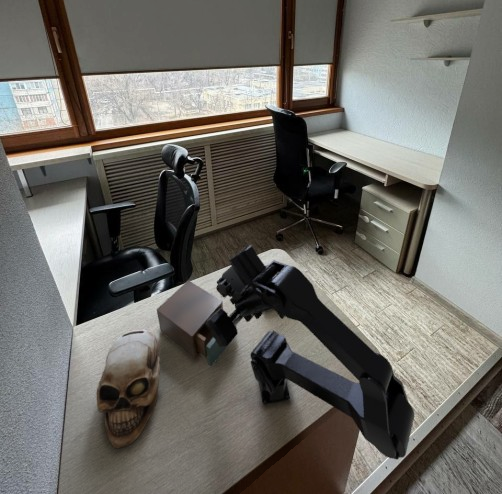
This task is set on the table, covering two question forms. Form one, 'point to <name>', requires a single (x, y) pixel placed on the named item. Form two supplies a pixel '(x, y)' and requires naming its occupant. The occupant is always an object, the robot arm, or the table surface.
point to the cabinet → (187, 315)
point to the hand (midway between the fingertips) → (227, 310)
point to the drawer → (208, 344)
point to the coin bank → (129, 385)
